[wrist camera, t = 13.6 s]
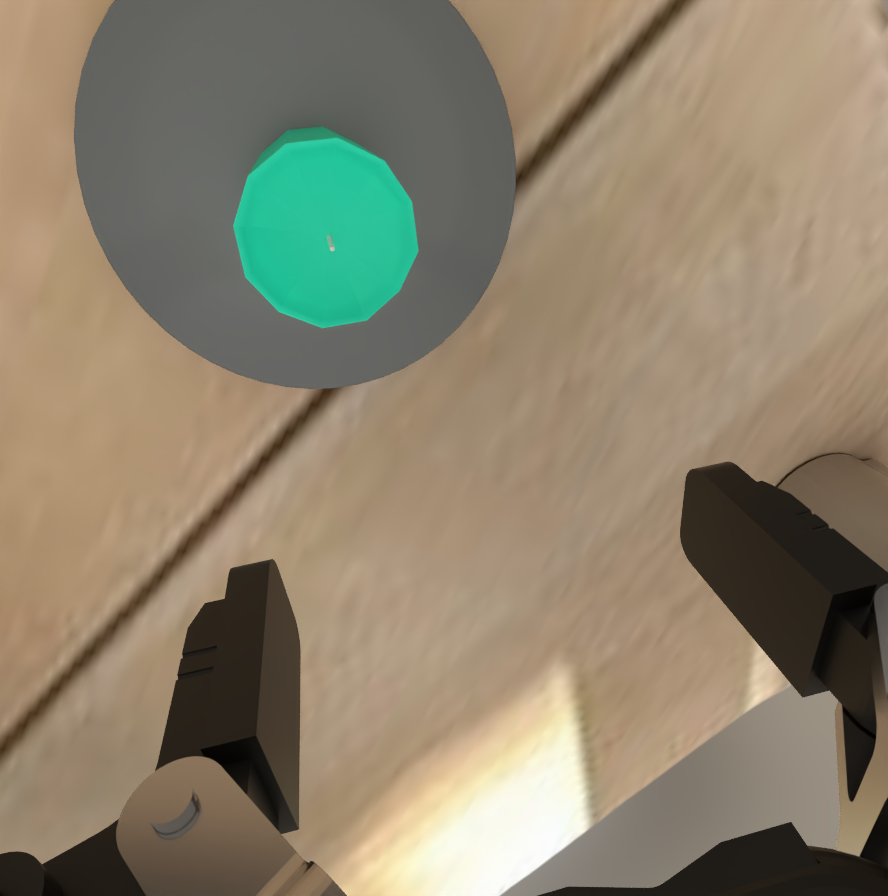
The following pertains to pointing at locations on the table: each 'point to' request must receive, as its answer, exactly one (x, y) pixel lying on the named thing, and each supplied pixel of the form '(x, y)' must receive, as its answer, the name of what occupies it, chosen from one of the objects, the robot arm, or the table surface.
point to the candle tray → (254, 129)
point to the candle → (324, 228)
